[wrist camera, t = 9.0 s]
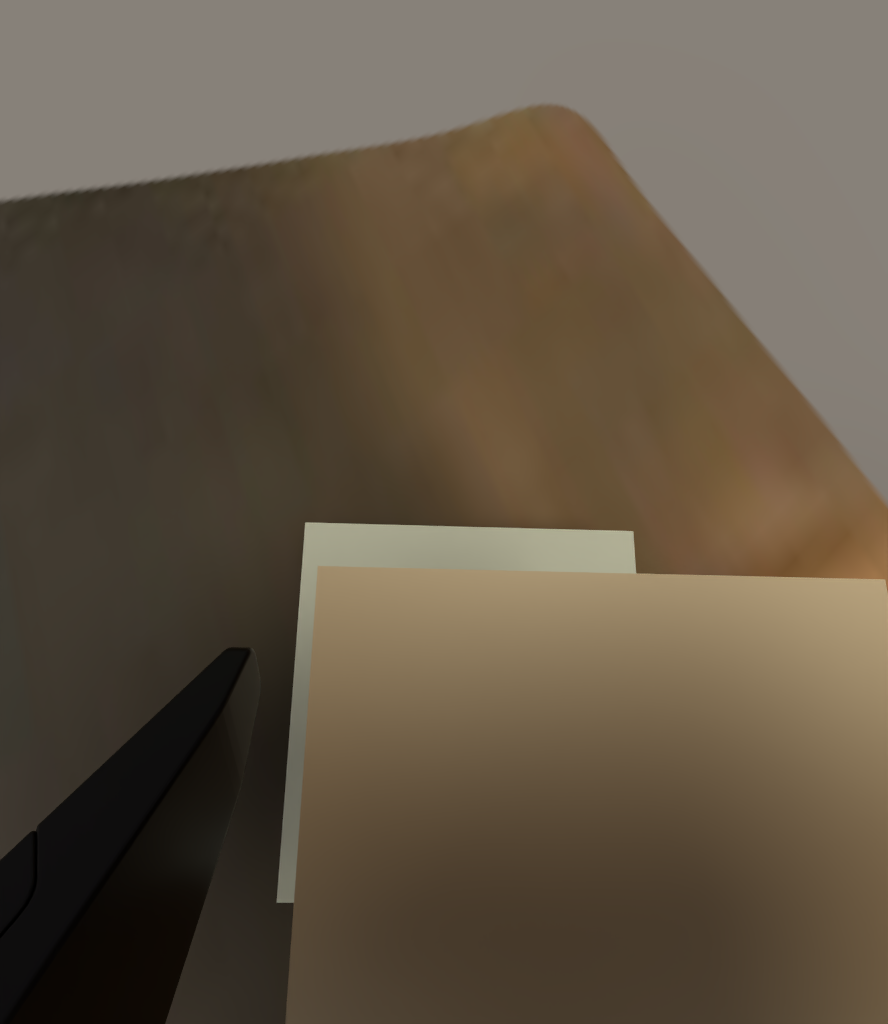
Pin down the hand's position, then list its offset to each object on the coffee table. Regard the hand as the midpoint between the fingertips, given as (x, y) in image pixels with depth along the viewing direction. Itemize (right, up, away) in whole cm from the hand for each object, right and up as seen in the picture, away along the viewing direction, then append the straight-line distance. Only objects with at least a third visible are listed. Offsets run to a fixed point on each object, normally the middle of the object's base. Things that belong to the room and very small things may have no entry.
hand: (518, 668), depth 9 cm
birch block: (-1, -3, +8) cm, 8 cm away
